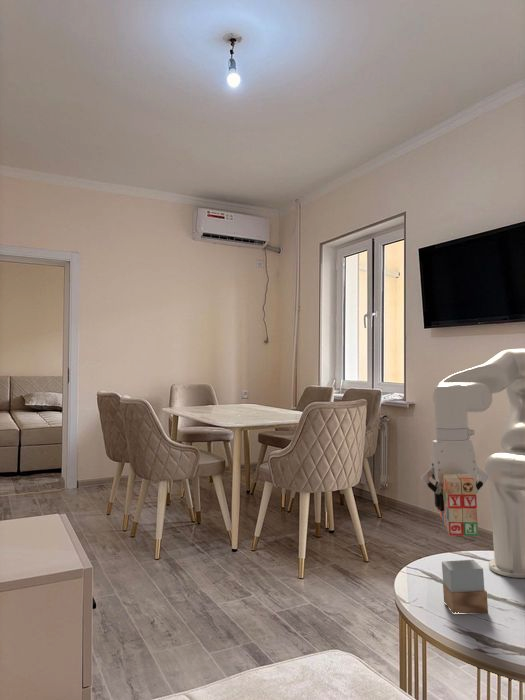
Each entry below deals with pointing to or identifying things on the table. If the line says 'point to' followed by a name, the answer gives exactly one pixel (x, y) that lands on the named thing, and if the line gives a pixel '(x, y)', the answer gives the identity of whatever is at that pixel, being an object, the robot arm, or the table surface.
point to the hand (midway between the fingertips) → (455, 508)
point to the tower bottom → (466, 601)
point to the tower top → (463, 576)
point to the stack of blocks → (459, 504)
